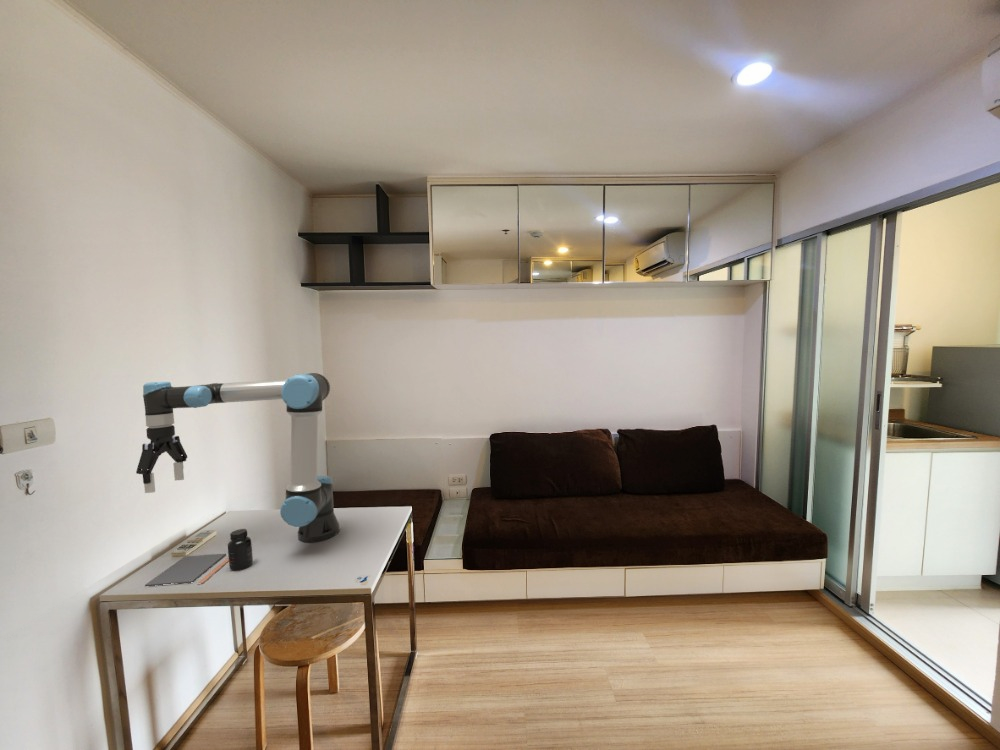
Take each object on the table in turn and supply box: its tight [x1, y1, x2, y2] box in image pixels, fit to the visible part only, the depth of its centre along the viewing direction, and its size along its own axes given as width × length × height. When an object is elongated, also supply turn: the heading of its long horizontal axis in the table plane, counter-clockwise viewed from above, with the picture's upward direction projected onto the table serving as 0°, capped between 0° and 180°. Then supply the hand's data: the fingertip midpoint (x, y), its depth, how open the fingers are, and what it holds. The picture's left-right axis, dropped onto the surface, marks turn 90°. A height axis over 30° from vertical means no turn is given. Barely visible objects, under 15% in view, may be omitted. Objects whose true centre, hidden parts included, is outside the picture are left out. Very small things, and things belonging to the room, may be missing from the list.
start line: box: [197, 557, 229, 584], centre depth 136 cm, size 2×20×1 cm, turn 5°
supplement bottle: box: [227, 528, 254, 572], centre depth 136 cm, size 7×7×12 cm
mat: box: [144, 553, 227, 587], centre depth 135 cm, size 14×18×1 cm
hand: (165, 485), depth 140 cm, fingers open, 13 cm apart
